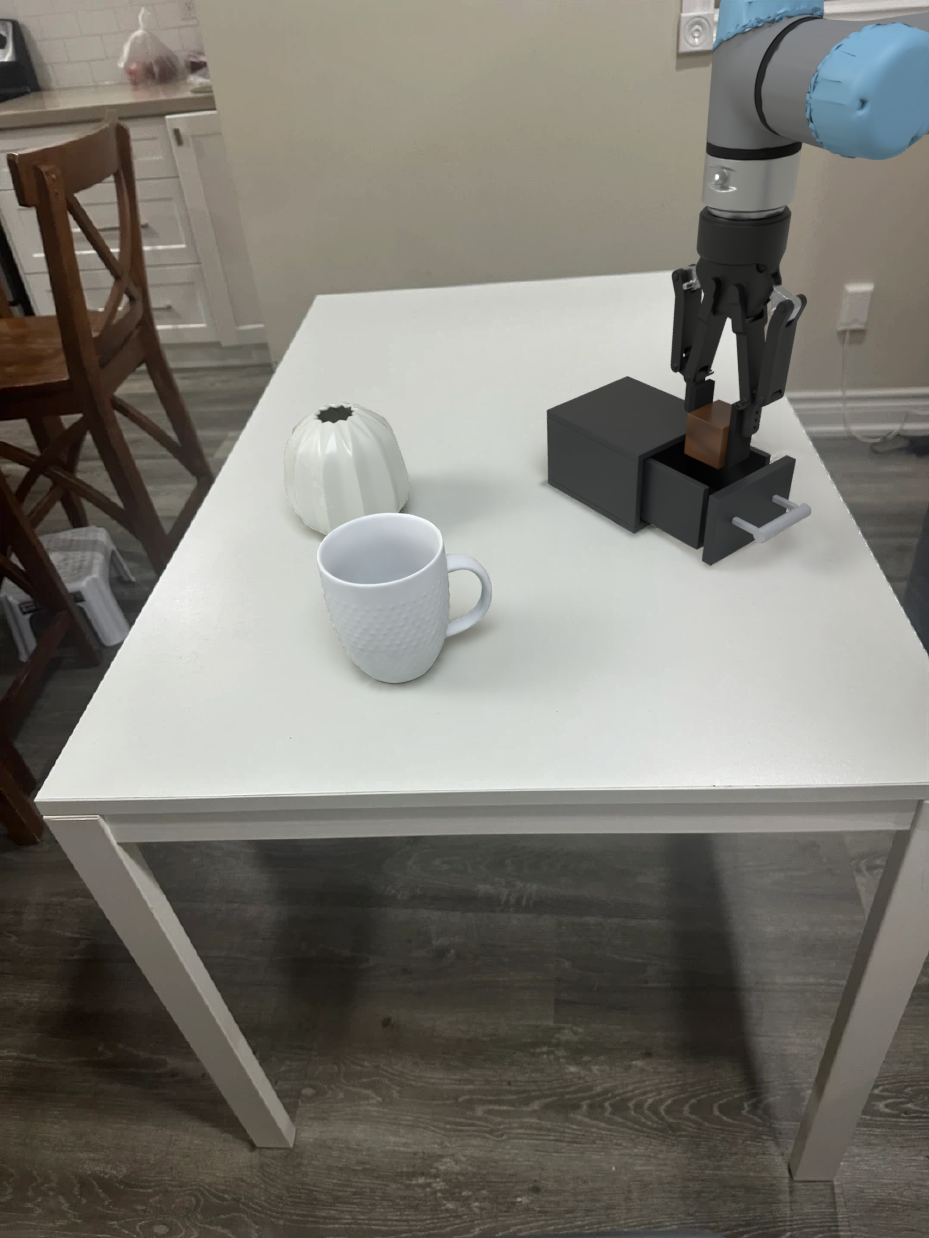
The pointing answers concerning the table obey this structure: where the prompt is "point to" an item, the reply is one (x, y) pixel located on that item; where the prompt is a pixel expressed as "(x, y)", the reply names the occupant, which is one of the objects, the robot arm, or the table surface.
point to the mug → (393, 593)
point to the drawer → (719, 500)
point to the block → (708, 433)
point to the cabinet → (611, 445)
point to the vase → (343, 467)
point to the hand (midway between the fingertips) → (716, 451)
